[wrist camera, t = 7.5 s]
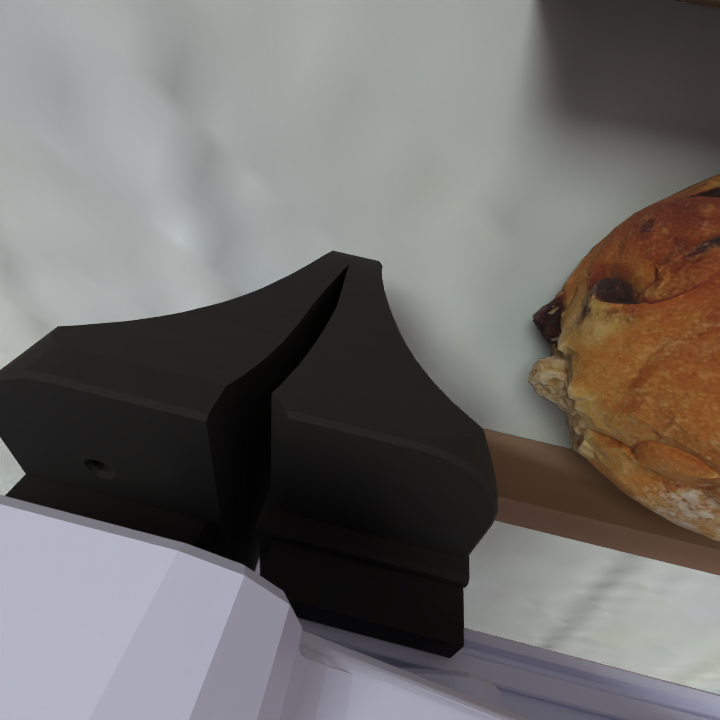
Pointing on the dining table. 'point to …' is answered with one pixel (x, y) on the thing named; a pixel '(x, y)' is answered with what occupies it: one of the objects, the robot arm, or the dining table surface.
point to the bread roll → (646, 357)
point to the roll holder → (587, 498)
